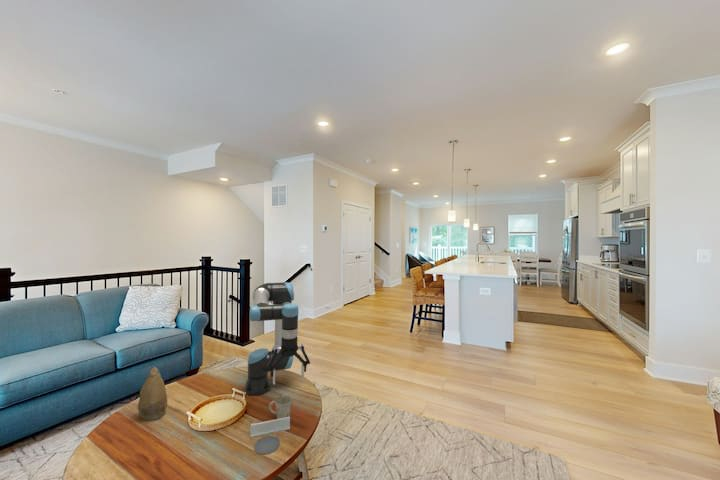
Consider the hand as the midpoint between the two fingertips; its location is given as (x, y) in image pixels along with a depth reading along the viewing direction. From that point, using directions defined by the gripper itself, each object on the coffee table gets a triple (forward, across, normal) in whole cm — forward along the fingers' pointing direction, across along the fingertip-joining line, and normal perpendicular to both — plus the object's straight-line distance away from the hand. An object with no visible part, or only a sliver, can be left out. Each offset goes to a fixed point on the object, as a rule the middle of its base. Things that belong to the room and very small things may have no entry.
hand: (288, 380), depth 136 cm
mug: (+25, -2, +12) cm, 28 cm away
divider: (+25, -8, +2) cm, 26 cm away
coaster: (+24, -10, -6) cm, 27 cm away
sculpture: (+25, -63, +35) cm, 77 cm away
